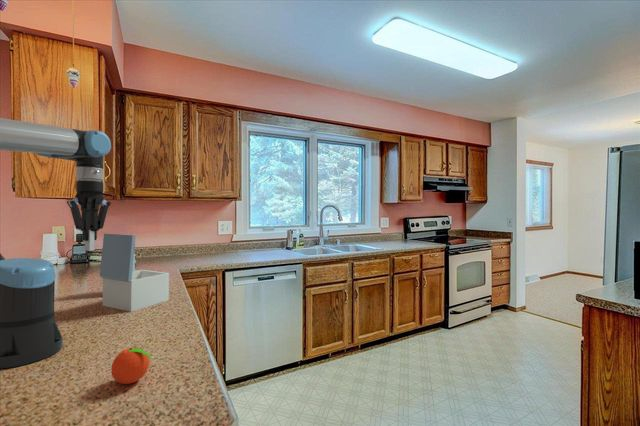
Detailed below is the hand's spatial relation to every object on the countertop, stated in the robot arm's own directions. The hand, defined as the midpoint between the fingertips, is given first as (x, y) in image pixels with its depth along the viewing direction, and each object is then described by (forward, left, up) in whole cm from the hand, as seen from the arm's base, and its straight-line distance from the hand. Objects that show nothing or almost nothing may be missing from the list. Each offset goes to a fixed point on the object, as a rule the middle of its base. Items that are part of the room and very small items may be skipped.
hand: (89, 250), depth 108 cm
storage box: (+17, 0, -23) cm, 28 cm away
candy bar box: (+24, +20, -23) cm, 39 cm away
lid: (+10, 0, -4) cm, 11 cm away
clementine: (-21, -52, -23) cm, 61 cm away
